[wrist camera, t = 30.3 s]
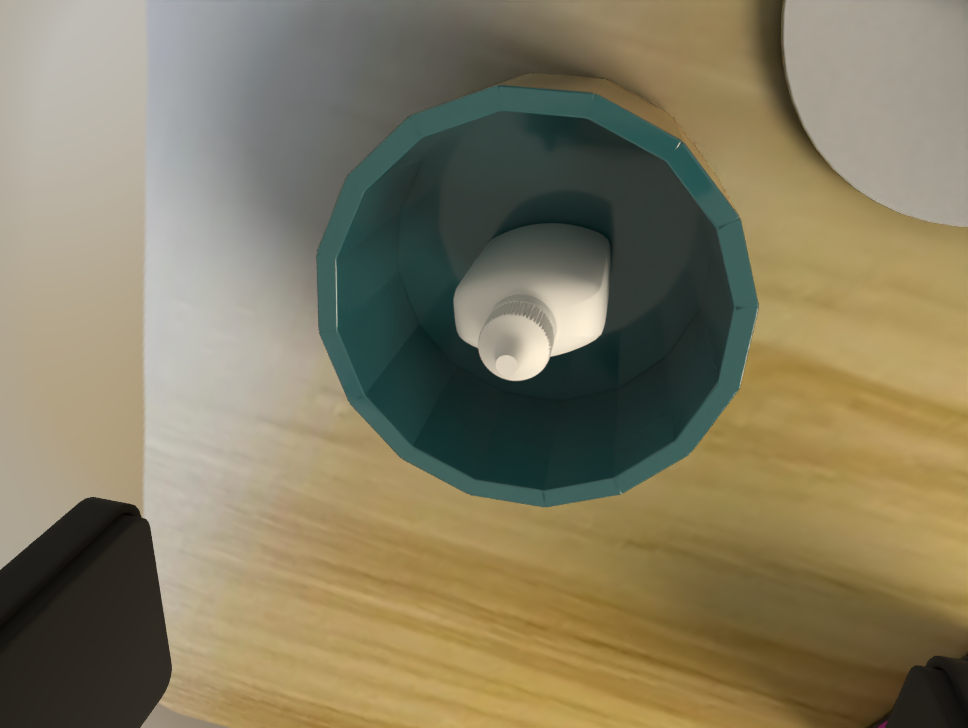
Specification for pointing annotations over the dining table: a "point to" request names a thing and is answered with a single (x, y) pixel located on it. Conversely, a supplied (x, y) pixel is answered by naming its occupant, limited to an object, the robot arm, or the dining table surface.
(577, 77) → the canister
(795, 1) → the lid
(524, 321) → the eye dropper bottle
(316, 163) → the dining table surface
